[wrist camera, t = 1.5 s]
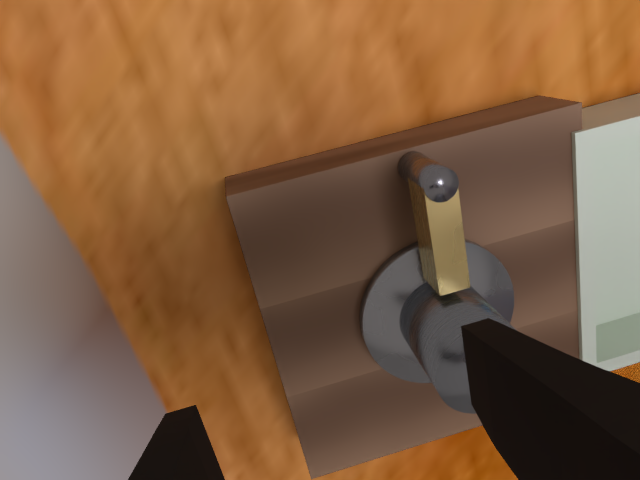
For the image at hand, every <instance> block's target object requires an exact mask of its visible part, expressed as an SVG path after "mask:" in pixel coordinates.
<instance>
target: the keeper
mask: <svg viewBox="0 0 640 480" xmlns="http://www.w3.org/2000/svg"><path fill="white" fill-rule="evenodd" d="M398 172H399V175H400V176H401V178H402V179H404V180H405V181H406V182H408V184H409V190H410V196H411V202H412V209H413V215H414V221H415V227H416V233H417V240H418V246H419V252H420V258H421V264H422V271H423V277H424V278H425V280H426V281H427V282H428V283H429V284H430V285H431V287H432V288H433V289H434V290H435V291H436V292H437V293H438V295H439V296H442V295H446V294H449V293H453V292H456V291H460V290H463V289H466V288H470V279H469V271H468V263H467V255H466V247H465V239H464V231H463V223H462V215H461V206H460V198H459V190H458V186H459V180H458V176H457V175H456V173H455V172H454V171H453V170H451V169H449V168H447V167H445V166H444V165H442V164H440V163H438V162H436V161H435V160H433V159H431V158H429V157H427V156H425V155H424V154H422V153H420V152H416V151H412V152H409V153H407V154H405V155H404V156H403V157H402V158H401V160H400V162H399V165H398Z"/></svg>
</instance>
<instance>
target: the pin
mask: <svg viewBox="0 0 640 480" xmlns="http://www.w3.org/2000/svg"><path fill="white" fill-rule="evenodd" d="M465 247H466V255H467V263H468V271H469V279H470V288H466V289H463V290H460V291H456V292H453V293H449V294H446V295H442V296H439V295H438V293H437V292H436V291H435V290H434V289H433V288H432V287H431V285H430V284H429V283H428V282H427V281H426V280H425V278H424V277H423V271H422V264H421V258H420V252H419V246H418V242H415V243H413V244H411V245H408V246H406V247H404V248H403V249H401V250H400V251H398V252H396V253H395V254H394V255H392V256H391V257H390V258H389V259H388V260H386V261H385V262H384V264H383V265H382V266H381V267H380V268H379V269H378V270H377V271H376V273H375V274H374V275H373V277H372V279H371V280H370V282H369V284H368V285H367V288H366V290H365V292H364V295H363V298H362V302H361V307H360V328H361V333H362V336H363V339H364V341H365V343H366V346H367V348H368V350H369V352H370V354H371V355H372V357H373V358H374V360H375V361H376V362H377V363H378V364H379V365H380V366H381V367H382V368H383V369H384V370H385V371H387V372H388V373H390V374H391V375H393V376H395V377H397V378H400V379H403V380H406V381H410V382H416V383H432V384H433V385H434V387H435V389H436V390H437V392H438V394H439V395H440V397H441V398H442V400H443V401H444V402H445V403H446V404H447V405H448V406H449V407H451V408H452V409H454V410H457V411H459V412H463V413H470V414H476V412H475V410H474V408H473V406H472V404H471V397H470V390H469V382H468V375H467V368H466V360H465V353H464V346H463V338H462V331H461V326H463V325H467V324H470V323H473V322H477V321H480V320H483V319H487V318H490V319H492V320H495V321H497V322H499V323H501V324H504V325H506V326H508V327H510V328H512V329H514V330H516V329H515V328H514V327H513V326H512V325H511V324H510V322H511V319H512V315H513V309H514V290H513V285H512V282H511V279H510V276H509V274H508V272H507V270H506V269H505V267H504V266H503V264H502V263H501V262H500V261H499V260H498V259H497V258H496V257H495V256H494V255H493V254H491V253H490V252H489V251H488V250H486V249H485V248H483V247H482V246H481V245H479V244H477V243H475V242H473V241H470V240H467V239H465ZM516 331H517V330H516Z"/></svg>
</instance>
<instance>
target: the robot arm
mask: <svg viewBox="0 0 640 480" xmlns="http://www.w3.org/2000/svg"><path fill="white" fill-rule="evenodd" d="M461 331H462V338H463V346H464V353H465V360H466V368H467V375H468V382H469V390H470V397H471V404H472V406H473V408H474V410H475V412H476V414H477V416H478V417H479V419H480V421H481V423H482V425H483V427H484V428H485V430H486V432H487V434H488V435H489V437H490V439H491V441H492V442H493V444H494V446H495V447H496V449H497V450H498V452H499V453H500V455H501V456H502V457H503V459H504V460H505V462H506V463H507V464H508V466H509V467H510V468H511V470H512V471H513V473H514V474H515V475H516V477H517V478H518V480H640V383H638V382H635V381H633V380H630V379H628V378H625V377H622V376H620V375H617V374H614V373H612V372H609V371H607V370H604V369H602V368H599V367H597V366H594V365H592V364H589V363H587V362H585V361H582V360H580V359H578V358H575V357H573V356H571V355H569V354H566V353H564V352H562V351H560V350H557V349H555V348H553V347H551V346H549V345H546V344H544V343H542V342H540V341H538V340H536V339H534V338H531V337H529V336H527V335H525V334H523V333H521V332H519V331H516V330H514V329H512V328H510V327H508V326H506V325H504V324H501V323H499V322H497V321H495V320H492V319H490V318H487V319H483V320H480V321H477V322H473V323H470V324H467V325H463V326H461ZM128 480H225V479H224V476H223V474H222V471H221V469H220V466H219V463H218V461H217V458H216V456H215V453H214V450H213V448H212V445H211V443H210V440H209V438H208V435H207V432H206V430H205V427H204V425H203V422H202V420H201V417H200V414H199V412H198V409H197V407H196V405H194V406H190V407H187V408H184V409H180V410H177V411H174V412H170V413H167V414H165V416H164V418H163V419H162V421H161V422H160V424H159V426H158V428H157V429H156V431H155V433H154V434H153V436H152V438H151V440H150V442H149V443H148V445H147V447H146V449H145V451H144V452H143V454H142V456H141V458H140V459H139V461H138V463H137V465H136V467H135V468H134V470H133V472H132V474H131V475H130V477H129V479H128Z"/></svg>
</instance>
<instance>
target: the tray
mask: <svg viewBox="0 0 640 480" xmlns="http://www.w3.org/2000/svg"><path fill="white" fill-rule="evenodd" d="M571 133H572V161H573V189H574V217H575V245H576V273H577V301H578V329H579V357H580V360H582V361H585V362H587V363H589V364H592V365H594V366H597V367H599V368H602V369H604V370H607V371H609V372H610V371H613V370H616V369H619V368H622V367H626V366H629V365H632V364H635V363H638V362H640V93H638V94H634V95H631V96H627V97H623V98H619V99H616V100H612V101H608V102H604V103H601V104H597V105H593V106H589V107H585V108H582V130H578V131H575V132H571Z"/></svg>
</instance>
